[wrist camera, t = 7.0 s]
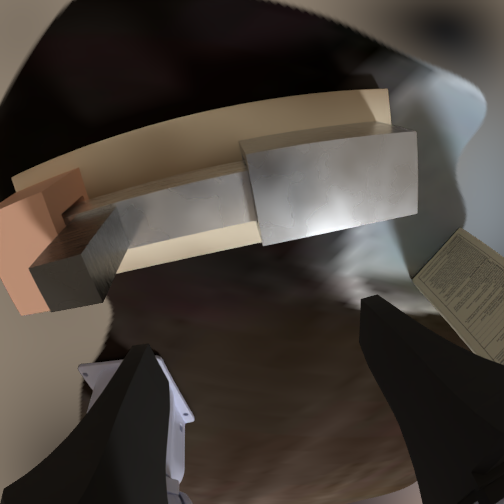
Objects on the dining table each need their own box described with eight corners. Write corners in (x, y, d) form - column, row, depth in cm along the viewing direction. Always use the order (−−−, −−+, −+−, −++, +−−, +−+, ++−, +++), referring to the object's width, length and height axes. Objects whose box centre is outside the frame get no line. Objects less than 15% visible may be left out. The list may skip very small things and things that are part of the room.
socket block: (111, 259, 19) (89, 303, 14) (49, 274, 18) (21, 316, 14) (79, 167, 16) (41, 192, 12) (16, 192, 16) (-26, 220, 12)
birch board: (387, 209, 20) (394, 214, 19) (61, 279, 20) (55, 286, 19) (379, 88, 16) (387, 88, 16) (19, 173, 16) (11, 177, 15)
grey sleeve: (380, 188, 18) (417, 213, 15) (252, 213, 18) (263, 246, 15) (376, 121, 16) (416, 131, 13) (238, 140, 16) (245, 154, 13)
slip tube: (298, 194, 17) (347, 256, 11) (51, 252, 17) (-5, 325, 11) (292, 151, 16) (343, 190, 10) (36, 217, 16) (-30, 280, 9)
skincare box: (430, 303, 25) (508, 403, 14) (408, 278, 23) (499, 389, 12) (477, 252, 23) (569, 336, 12) (460, 221, 21) (569, 308, 11)
